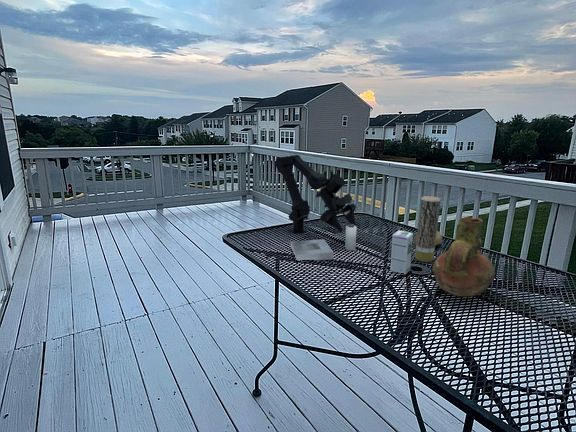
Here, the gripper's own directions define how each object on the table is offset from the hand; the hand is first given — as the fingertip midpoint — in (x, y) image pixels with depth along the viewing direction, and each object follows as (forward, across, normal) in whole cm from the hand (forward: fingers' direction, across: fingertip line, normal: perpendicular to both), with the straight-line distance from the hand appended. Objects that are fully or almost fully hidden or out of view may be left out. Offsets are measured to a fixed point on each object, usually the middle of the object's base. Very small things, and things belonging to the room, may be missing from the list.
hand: (348, 228), depth 139 cm
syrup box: (+26, -3, -12) cm, 29 cm away
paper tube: (+26, +12, -13) cm, 32 cm away
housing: (+1, -16, +11) cm, 20 cm away
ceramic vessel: (+40, -2, -27) cm, 49 cm away
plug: (+7, 0, +6) cm, 9 cm away
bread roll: (+22, +27, -9) cm, 36 cm away
